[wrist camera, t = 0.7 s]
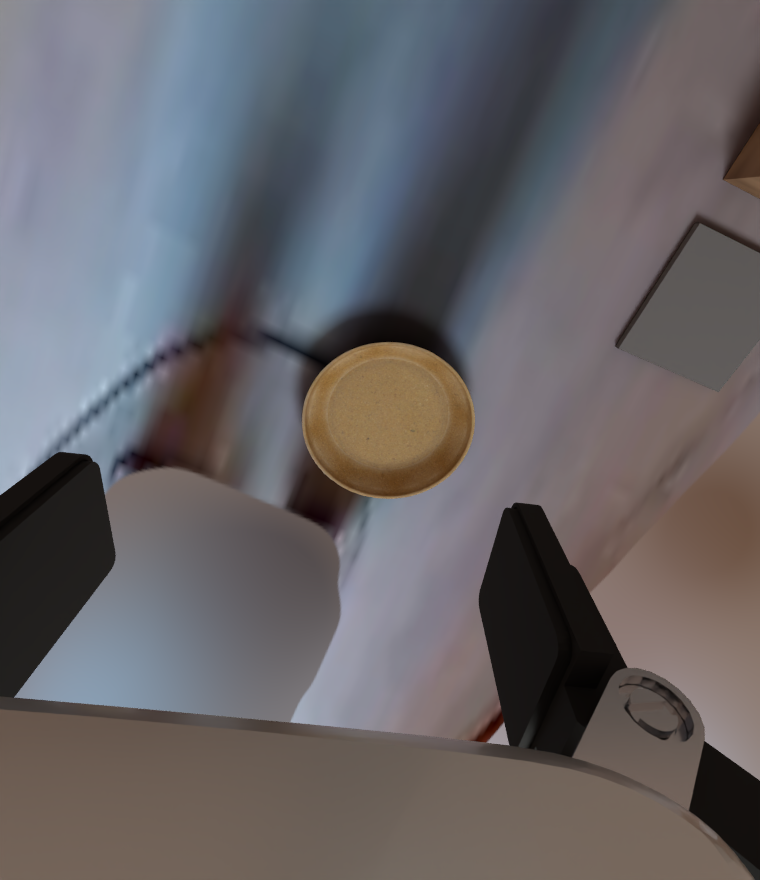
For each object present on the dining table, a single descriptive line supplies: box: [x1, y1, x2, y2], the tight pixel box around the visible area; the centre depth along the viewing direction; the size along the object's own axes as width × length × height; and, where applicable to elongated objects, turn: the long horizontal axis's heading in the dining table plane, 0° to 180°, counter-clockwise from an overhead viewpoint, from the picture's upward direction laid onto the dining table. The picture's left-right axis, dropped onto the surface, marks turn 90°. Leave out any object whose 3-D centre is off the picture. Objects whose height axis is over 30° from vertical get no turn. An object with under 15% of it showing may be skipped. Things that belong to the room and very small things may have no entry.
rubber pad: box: [615, 223, 760, 392], centre depth 37 cm, size 10×10×1 cm
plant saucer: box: [302, 342, 475, 499], centre depth 41 cm, size 15×15×3 cm
